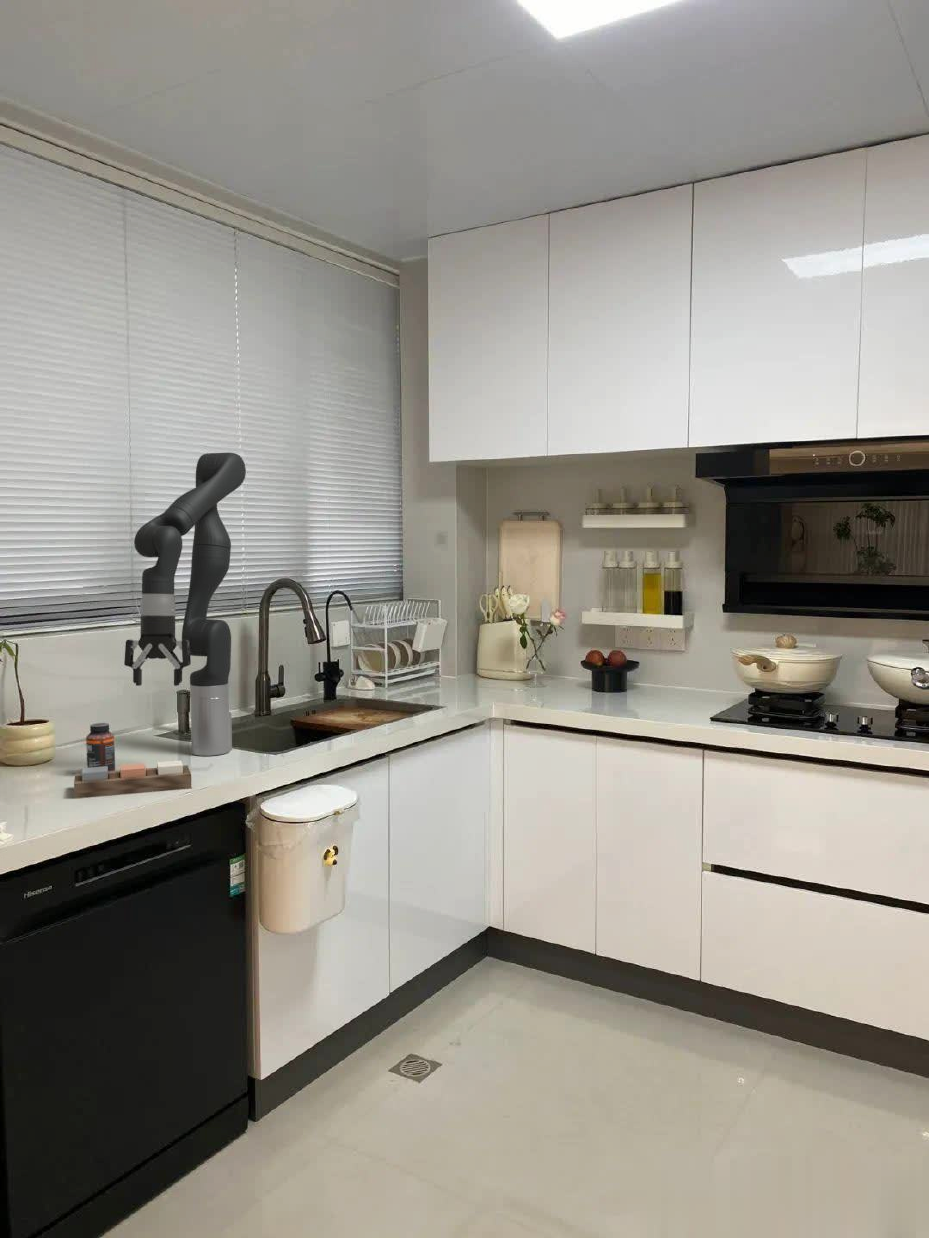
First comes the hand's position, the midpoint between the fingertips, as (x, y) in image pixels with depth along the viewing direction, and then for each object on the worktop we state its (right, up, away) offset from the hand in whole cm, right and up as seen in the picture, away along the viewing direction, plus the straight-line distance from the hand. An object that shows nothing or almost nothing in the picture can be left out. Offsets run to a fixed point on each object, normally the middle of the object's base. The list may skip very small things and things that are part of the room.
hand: (157, 685), depth 215 cm
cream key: (+6, -18, -11) cm, 23 cm away
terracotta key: (-1, -18, -14) cm, 23 cm away
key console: (-1, -21, -14) cm, 25 cm away
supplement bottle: (-12, -20, -1) cm, 24 cm away
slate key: (-8, -19, -17) cm, 26 cm away
